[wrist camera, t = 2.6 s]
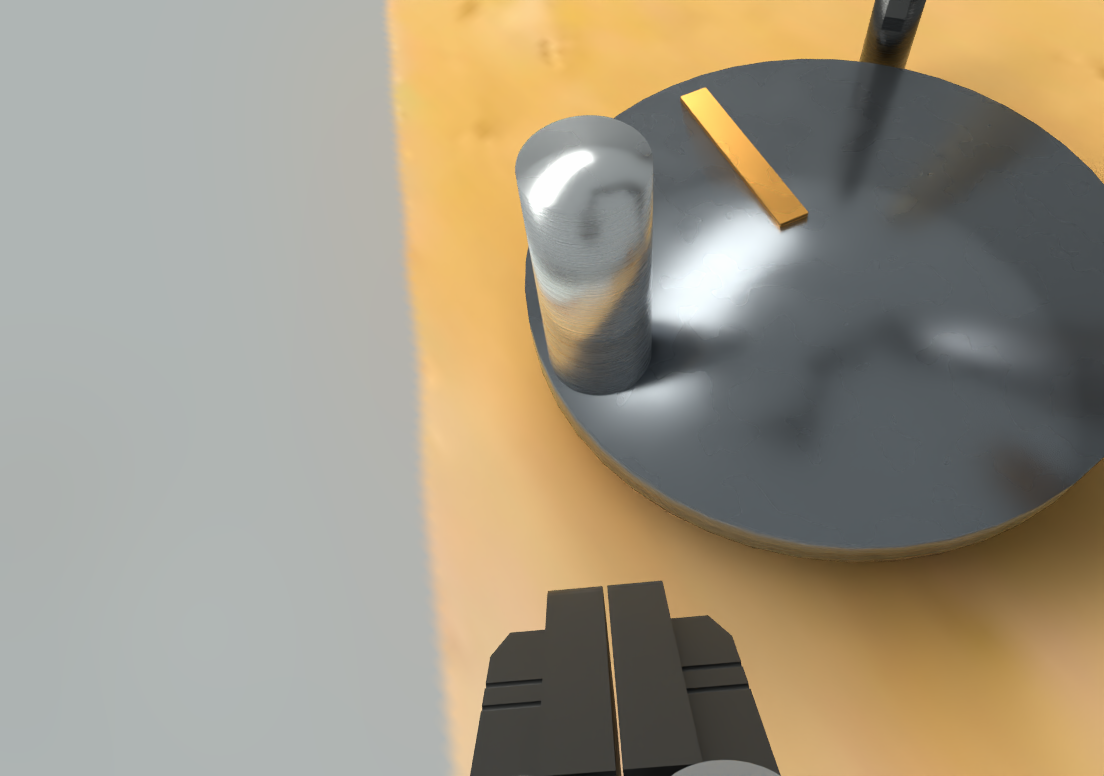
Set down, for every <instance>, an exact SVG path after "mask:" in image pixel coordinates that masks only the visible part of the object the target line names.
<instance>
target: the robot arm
mask: <svg viewBox="0 0 1104 776" xmlns="http://www.w3.org/2000/svg"><path fill="white" fill-rule="evenodd" d="M607 587H608V599H609V611H610V623H611V634H612V646H613V658H614V669H615V681H616V693H617V704H618V716H619V728H620V739H621V751H622V763H623V773H624V776H781V775H780V773H779V770H778V767H777V764H776V761H775V758H774V755H773V753H772V750H771V747H770V744H769V741H768V738H767V735H766V732H765V730H764V727H763V724H762V721H761V718H760V715H759V712H758V709H757V707H756V704H755V701H754V698H753V695H752V692H751V689H749V684H748V681H747V678H746V675H745V672H744V669H743V667H742V666H741V660H740V658H739V655H738V652H737V649H736V646H735V643H734V640H733V637H732V635H730V634H729V633H728V632H727V631H726V630H724V629H723V628H722V627H721V626H720V625H719V624H717V623H716V622H715V621H714V620H713V619H711V618H710V617H709V616H708V615H707V616H695V617H684V618H672V619H671V618H670V613H669V609H668V604H667V600H666V595H665V591H664V586H663V582H662V581H653V582H642V583H631V584H620V585H609V586H607ZM470 776H621V766H620V754H619V742H618V730H617V720H616V709H615V699H614V689H613V680H612V670H611V661H610V651H609V642H608V632H607V622H606V613H605V603H604V594H603V587H602V586H599V587H588V588H577V589H566V590H554V591H548V595H547V611H546V628H545V630H537V631H525V632H514V633H510V634H509V635H508V636H507V637H506V639H505V640H504V641H503V642H502V643H501V645H500V646H499V647H498V648H497V649H496V651H495V652H494V653H493V654H492V655H491V657H490V662H489V668H488V674H487V680H486V689H485V692H484V697H483V703H482V711H481V715H480V721H479V727H478V733H477V739H476V744H475V750H474V756H473V762H472V768H471V774H470Z"/></svg>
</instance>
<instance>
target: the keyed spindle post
mask: <svg viewBox="0 0 1104 776" xmlns="http://www.w3.org/2000/svg"><path fill="white" fill-rule="evenodd" d="M925 2H926V0H875V3H874V7H873V11H872V15H871V19H870V23H869V26H868V30H867V34H866V38H865V42H864V46H863V50H862V54H861V57H860V61H859V62H867V63H874V64H880V65H885V66H891V67H896V68H902V69H905V65H906V62H907V59H908V56H909V53H910V50H911V46H912V43H913V40H914V37H915V34H916V31H917V27H918V24H919V21H920V18H921V15H922V12H923V8H924V5H925Z"/></svg>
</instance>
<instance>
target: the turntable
mask: <svg viewBox="0 0 1104 776" xmlns="http://www.w3.org/2000/svg"><path fill="white" fill-rule="evenodd" d="M515 173H516V179H517V185H518V190H519V196H520V201H521V207H522V212H523V218H524V223H525V228H526V234H527V239H528V245H529V247H528V252H527V257H526V276H525V293H526V301H527V308H528V316H529V322H530V327H531V332H532V337H533V342H534V346H535V349H536V352H537V356H538V359H539V362H540V365H541V369H542V372H543V375H544V377H545V379H546V381H547V383H548V386H549V388H550V390H551V392H552V394H553V396H554V398H555V400H556V402H557V404H558V406H559V408H560V409H561V411H562V412H563V414H564V415H565V416H566V418H567V419H568V421H569V422H570V424H571V425H572V427H573V428H574V430H575V431H576V433H577V434H578V436H579V437H580V438H581V439H582V440H583V441H584V442H585V443H586V444H587V446H588V447H589V448H590V449H591V450H592V451H593V452H594V453H595V454H596V456H597V457H598V458H599V459H600V460H601V461H602V462H603V463H604V464H605V465H606V466H607V467H608V468H610V469H611V470H612V471H613V472H614V473H615V474H617V475H618V476H619V477H620V478H621V479H622V480H624V481H625V482H626V483H627V484H628V485H630V486H631V487H632V488H633V489H634V490H636V491H637V492H639V493H640V494H642V495H643V496H645V497H646V498H648V499H650V500H651V501H653V502H654V503H656V504H657V505H659V506H660V507H662V508H663V509H665V510H666V511H668V512H669V513H671V514H673V515H676V516H678V517H680V518H682V519H684V520H686V521H688V522H690V523H692V524H694V525H696V526H698V527H700V528H702V529H704V530H706V531H708V532H710V533H713V534H716V535H719V536H722V537H725V538H728V539H731V540H733V541H736V542H739V543H742V544H745V545H748V546H751V547H754V548H758V549H763V550H767V551H772V552H776V553H781V554H786V555H790V556H795V557H800V558H810V559H820V560H830V561H840V562H868V561H896V560H902V559H909V558H915V557H922V556H929V555H935V554H940V553H944V552H947V551H951V550H954V549H958V548H961V547H964V546H968V545H971V544H975V543H978V542H982V541H984V540H986V539H988V538H991V537H993V536H995V535H997V534H999V533H1002V532H1004V531H1006V530H1008V529H1011V528H1013V527H1015V526H1017V525H1019V524H1021V523H1023V522H1024V521H1026V520H1028V519H1029V518H1031V517H1032V516H1034V515H1035V514H1037V513H1038V512H1040V511H1041V510H1043V509H1045V508H1046V507H1048V506H1049V505H1051V504H1052V503H1054V502H1055V501H1056V500H1058V499H1059V498H1060V497H1061V496H1062V495H1063V494H1064V493H1065V492H1066V491H1067V490H1069V489H1070V488H1071V487H1072V486H1073V485H1074V484H1075V483H1076V482H1077V481H1078V480H1080V479H1081V478H1082V477H1083V476H1084V475H1085V474H1086V473H1087V472H1088V471H1089V470H1090V469H1091V468H1093V467H1094V466H1095V465H1096V464H1097V463H1098V462H1099V461H1100V460H1101V459H1102V458H1103V457H1104V184H1103V183H1102V182H1101V181H1100V179H1099V178H1098V177H1097V176H1096V175H1095V174H1094V172H1093V171H1092V170H1091V169H1090V168H1089V167H1088V166H1087V165H1086V164H1084V163H1083V162H1082V161H1081V160H1080V159H1079V158H1078V157H1077V156H1076V155H1075V154H1074V153H1073V152H1072V151H1070V150H1069V149H1068V148H1067V147H1066V146H1065V145H1064V144H1062V143H1061V142H1060V141H1058V140H1057V139H1056V138H1054V137H1053V136H1052V135H1050V134H1049V133H1048V132H1046V131H1045V130H1043V129H1042V128H1041V127H1039V126H1038V125H1037V124H1035V123H1033V122H1032V121H1030V120H1028V119H1027V118H1025V117H1023V116H1022V115H1020V114H1018V113H1017V112H1015V111H1013V110H1012V109H1010V108H1008V107H1006V106H1005V105H1002V104H1000V103H998V102H996V101H994V100H992V99H990V98H988V97H985V96H983V95H981V94H979V93H977V92H975V91H973V90H970V89H967V88H964V87H962V86H959V85H956V84H953V83H951V82H948V81H945V80H942V79H940V78H936V77H933V76H929V75H925V74H921V73H918V72H914V71H910V70H906V69H902V68H896V67H891V66H885V65H880V64H874V63H867V62H857V61H846V60H835V59H795V60H782V61H768V62H761V63H755V64H749V65H743V66H737V67H732V68H728V69H724V70H720V71H716V72H712V73H708V74H704V75H701V76H698V77H695V78H693V79H690V80H687V81H684V82H681V83H679V84H676V85H673V86H671V87H669V88H666V89H664V90H662V91H660V92H658V93H656V94H654V95H652V96H650V97H648V98H646V99H643V100H642V101H640V102H639V103H637V104H635V105H634V106H632V107H631V108H629V109H627V110H626V111H624V112H622V113H621V114H619V115H618V116H616V117H615V118H614V119H613V118H609V117H604V116H593V115H586V116H575V117H570V118H566V119H562V120H559V121H556V122H554V123H551V124H549V125H547V126H545V127H544V128H542V129H540V130H539V131H538V132H536V133H535V134H534V135H532V136H531V137H530V138H529V139H528V140H527V142H526V143H525V144H524V145H523V147H522V149H521V150H520V152H519V154H518V157H517V160H516V166H515Z"/></svg>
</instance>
